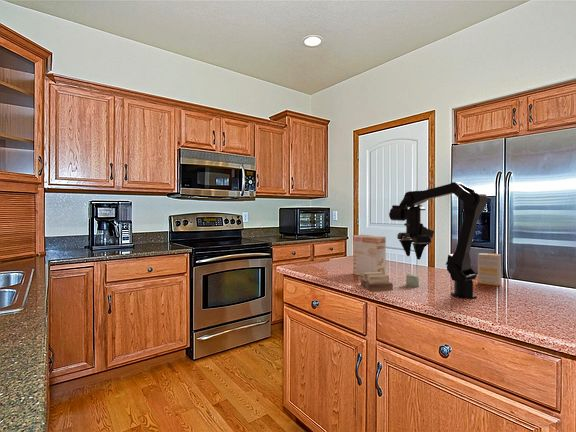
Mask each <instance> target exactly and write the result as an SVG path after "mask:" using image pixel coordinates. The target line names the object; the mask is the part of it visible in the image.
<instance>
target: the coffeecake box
mask: <svg viewBox="0 0 576 432" xmlns="http://www.w3.org/2000/svg"><path fill="white" fill-rule="evenodd" d="M386 247H387V246H386V236H381V235H380V236H379V235H370V234H369V235H366V234H356V235H355V234H354V235H353V236H352V274H353V275H356V276H361V277H363V273H370V272H382V273H384V274H386V275H387V273H386V268H387V267H386V264H387V263H386V260H387V258H386V252H387V251H386V250H387V249H386Z"/></svg>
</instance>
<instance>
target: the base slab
mask: <svg viewBox="0 0 576 432" xmlns="http://www.w3.org/2000/svg"><path fill="white" fill-rule="evenodd" d="M393 285H394V284H393V283H392V282H390V281H389V283H383V284H369V283H368V282H366V281H365V280H363V278H360V286H361V287H363V288H364V289H366V290H367V291H369V292H370V291H371V292H372V291H374V292H375V291H393V289H394V288H393V287H394V286H393Z"/></svg>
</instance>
